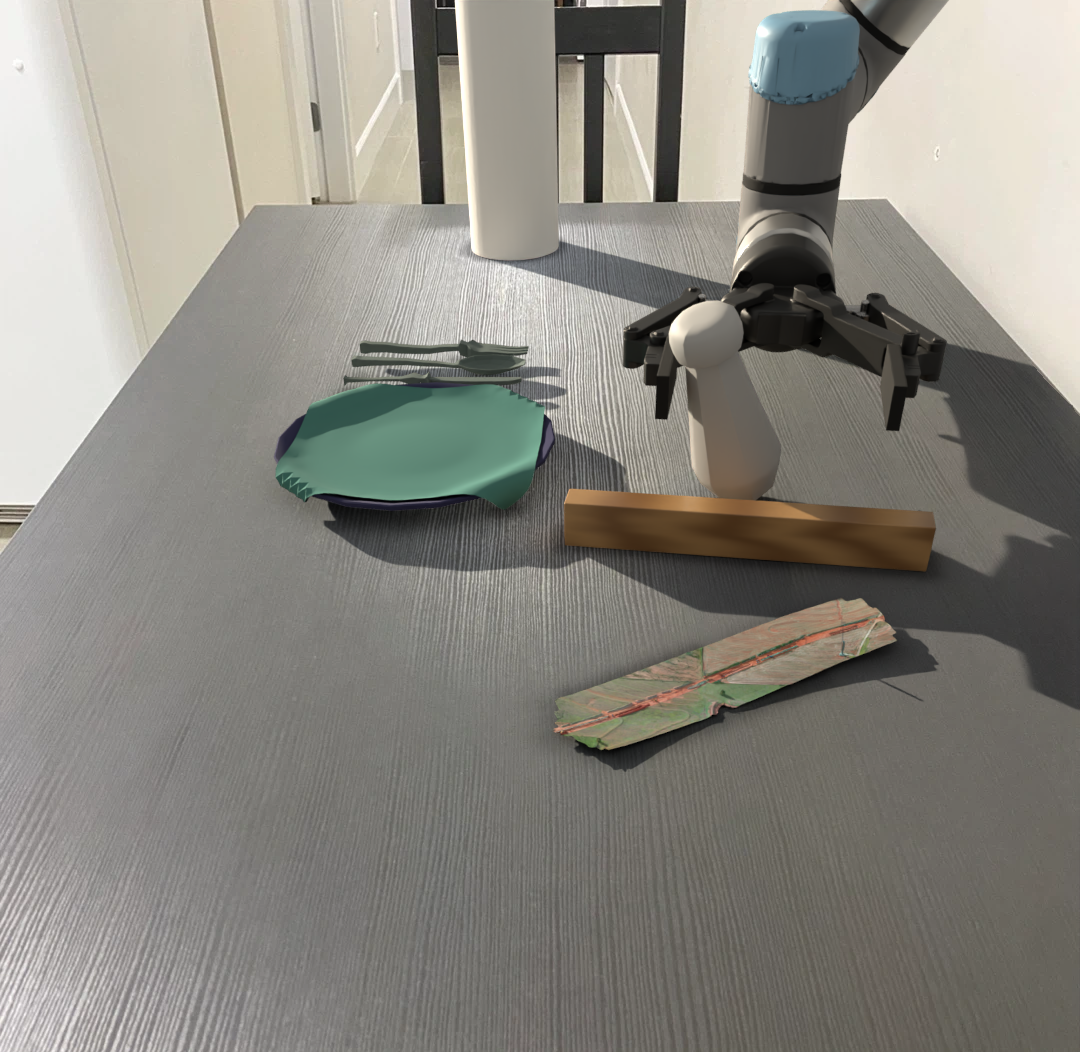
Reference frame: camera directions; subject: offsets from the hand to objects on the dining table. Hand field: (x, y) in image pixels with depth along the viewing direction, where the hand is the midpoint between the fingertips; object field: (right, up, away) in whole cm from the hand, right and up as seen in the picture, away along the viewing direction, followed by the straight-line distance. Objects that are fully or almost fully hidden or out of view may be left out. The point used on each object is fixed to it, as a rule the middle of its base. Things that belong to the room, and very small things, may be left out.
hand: (777, 403), depth 64 cm
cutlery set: (-22, +3, +18) cm, 29 cm away
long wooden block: (-2, -8, +4) cm, 9 cm away
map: (-4, -16, -6) cm, 18 cm away
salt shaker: (0, -3, +9) cm, 9 cm away
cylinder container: (-17, +32, +53) cm, 64 cm away
